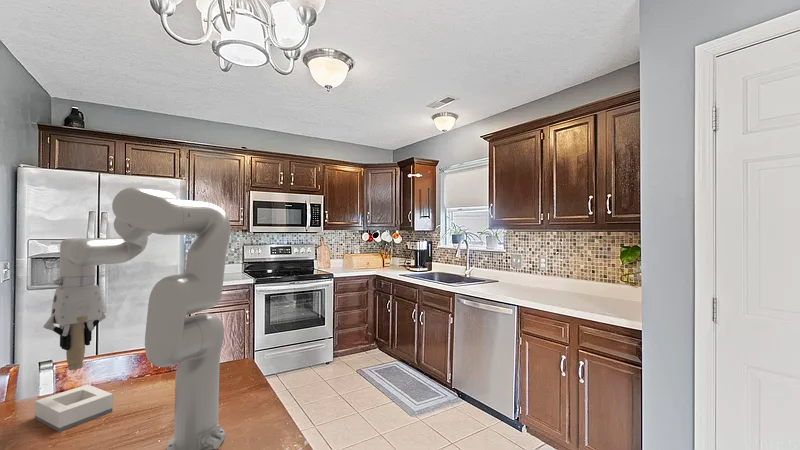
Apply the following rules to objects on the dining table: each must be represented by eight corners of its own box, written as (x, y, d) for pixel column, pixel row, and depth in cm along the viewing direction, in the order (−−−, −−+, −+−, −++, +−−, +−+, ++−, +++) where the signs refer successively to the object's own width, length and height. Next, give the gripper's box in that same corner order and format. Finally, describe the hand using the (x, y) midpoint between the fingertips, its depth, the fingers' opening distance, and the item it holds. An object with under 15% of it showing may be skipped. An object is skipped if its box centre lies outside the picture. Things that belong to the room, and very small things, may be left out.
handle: (74, 372, 100) (75, 318, 100) (57, 370, 101) (58, 316, 101) (93, 366, 104) (94, 314, 105) (76, 364, 106) (77, 312, 106)
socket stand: (112, 411, 105) (112, 394, 105) (59, 431, 94) (59, 412, 94) (87, 400, 111) (87, 384, 111) (34, 418, 100) (35, 400, 100)
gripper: (44, 287, 94) (42, 358, 94) (118, 279, 109) (116, 340, 109) (31, 284, 97) (30, 353, 97) (104, 277, 112) (103, 337, 112)
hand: (75, 346), depth 103 cm, fingers closed on handle, 3 cm apart
